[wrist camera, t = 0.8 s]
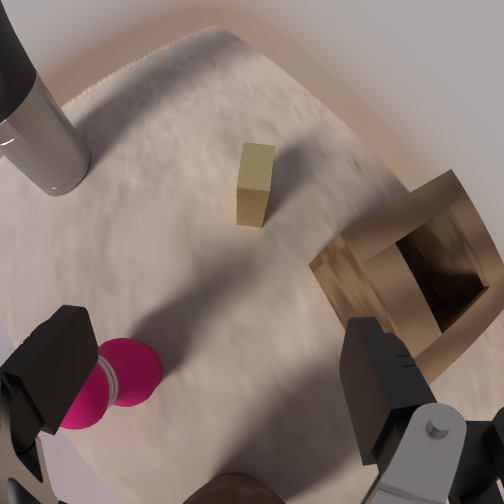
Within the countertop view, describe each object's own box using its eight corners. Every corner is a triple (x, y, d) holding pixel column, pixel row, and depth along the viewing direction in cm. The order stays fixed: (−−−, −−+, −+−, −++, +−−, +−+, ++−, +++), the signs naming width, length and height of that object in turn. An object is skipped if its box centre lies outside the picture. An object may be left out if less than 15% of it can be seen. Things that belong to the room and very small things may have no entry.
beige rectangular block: (241, 187, 39) (243, 142, 29) (265, 190, 39) (274, 146, 29) (236, 224, 37) (236, 187, 28) (261, 227, 37) (269, 191, 28)
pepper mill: (122, 326, 34) (15, 313, 14) (176, 356, 33) (105, 381, 14) (100, 378, 32) (-12, 404, 12) (151, 408, 31) (69, 475, 12)
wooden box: (308, 265, 37) (344, 229, 24) (398, 213, 39) (451, 169, 26) (367, 372, 33) (426, 386, 21) (449, 308, 36) (515, 293, 23)
